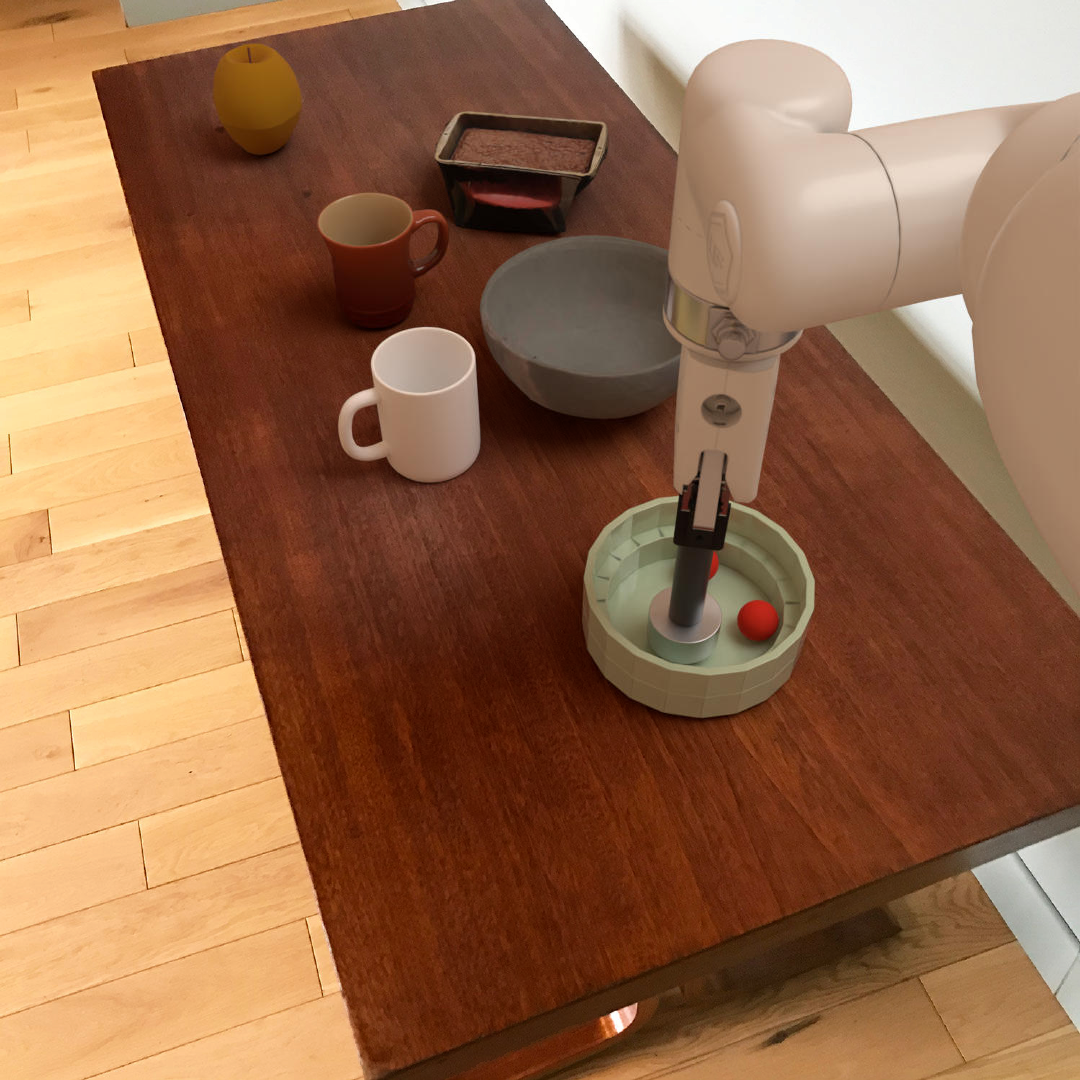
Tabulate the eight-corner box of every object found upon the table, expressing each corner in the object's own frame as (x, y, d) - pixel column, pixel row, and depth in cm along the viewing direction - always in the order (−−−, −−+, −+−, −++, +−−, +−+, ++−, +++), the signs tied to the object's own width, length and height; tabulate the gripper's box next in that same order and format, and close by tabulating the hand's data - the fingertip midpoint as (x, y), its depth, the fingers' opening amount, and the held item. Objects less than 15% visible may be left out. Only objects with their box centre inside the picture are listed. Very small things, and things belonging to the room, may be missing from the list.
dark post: (715, 669, 79) (749, 502, 66) (642, 658, 80) (661, 491, 67) (720, 611, 83) (753, 441, 69) (650, 601, 83) (670, 431, 70)
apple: (295, 174, 125) (276, 73, 116) (212, 167, 126) (187, 66, 117) (320, 129, 131) (303, 30, 122) (240, 123, 132) (218, 24, 123)
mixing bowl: (797, 737, 78) (812, 690, 73) (567, 703, 79) (568, 655, 75) (802, 560, 88) (816, 509, 83) (599, 534, 90) (601, 483, 85)
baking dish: (476, 171, 129) (456, 91, 121) (627, 172, 123) (616, 88, 116) (438, 251, 120) (414, 170, 113) (597, 255, 115) (583, 170, 107)
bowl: (752, 407, 99) (769, 318, 92) (559, 496, 93) (560, 407, 85) (624, 290, 111) (630, 201, 103) (444, 361, 104) (435, 272, 96)
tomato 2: (774, 651, 82) (781, 627, 79) (733, 646, 82) (738, 621, 80) (776, 619, 83) (782, 594, 81) (735, 613, 84) (741, 589, 82)
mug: (344, 347, 105) (328, 255, 97) (324, 293, 111) (307, 202, 103) (466, 319, 108) (460, 228, 100) (440, 268, 113) (432, 178, 105)
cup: (497, 464, 95) (493, 373, 87) (367, 514, 91) (350, 424, 84) (455, 406, 100) (447, 315, 92) (330, 452, 96) (311, 361, 88)
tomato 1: (714, 593, 85) (719, 568, 83) (675, 587, 85) (679, 563, 83) (717, 563, 87) (722, 538, 85) (679, 558, 87) (682, 533, 85)
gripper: (806, 406, 53) (751, 634, 67) (812, 214, 63) (764, 447, 77) (647, 388, 53) (626, 617, 67) (679, 202, 64) (655, 434, 78)
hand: (700, 524), depth 72 cm, fingers closed on dark post, 2 cm apart
